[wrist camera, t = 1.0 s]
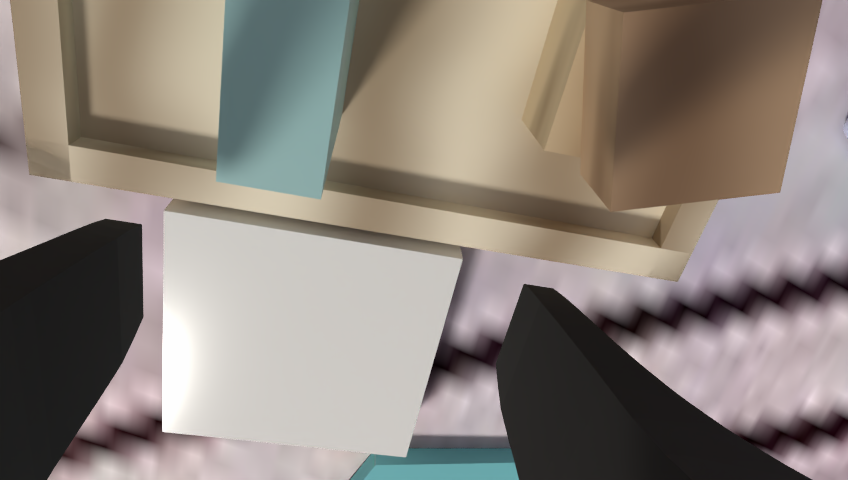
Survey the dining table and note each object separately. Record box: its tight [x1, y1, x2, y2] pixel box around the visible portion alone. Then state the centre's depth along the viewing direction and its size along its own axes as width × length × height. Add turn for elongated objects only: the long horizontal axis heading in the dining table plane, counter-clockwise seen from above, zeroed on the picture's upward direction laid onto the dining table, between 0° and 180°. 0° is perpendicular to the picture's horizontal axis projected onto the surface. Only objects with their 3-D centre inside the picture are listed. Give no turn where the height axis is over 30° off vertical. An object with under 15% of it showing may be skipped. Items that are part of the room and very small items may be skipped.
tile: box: [162, 199, 463, 457], centre depth 22 cm, size 10×10×2 cm
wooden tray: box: [10, 0, 718, 282], centre depth 17 cm, size 22×14×2 cm, turn 78°
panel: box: [216, 0, 359, 199], centre depth 13 cm, size 2×7×6 cm, turn 167°
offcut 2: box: [580, 0, 822, 212], centre depth 14 cm, size 4×5×2 cm
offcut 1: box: [522, 0, 586, 158], centre depth 16 cm, size 5×5×3 cm
